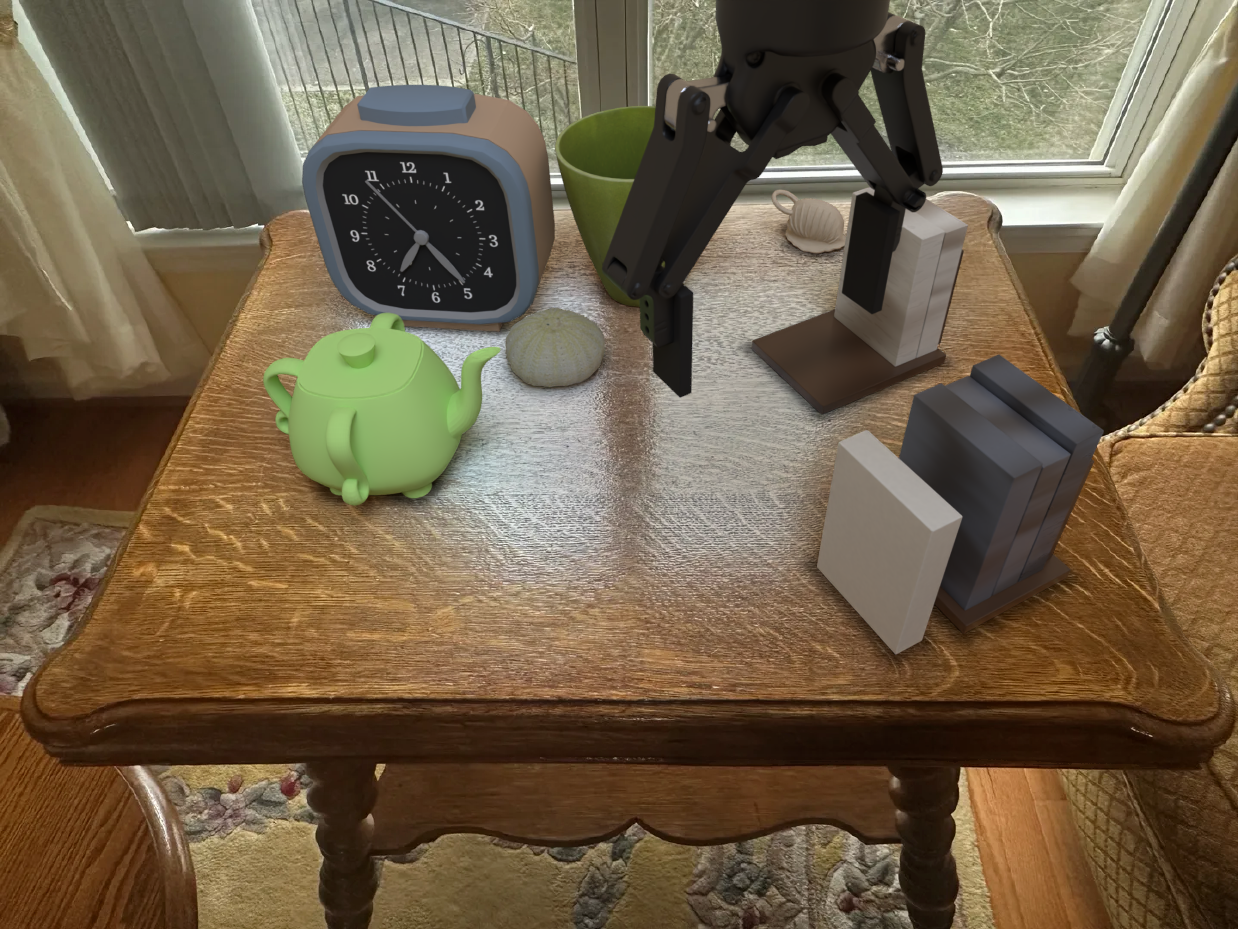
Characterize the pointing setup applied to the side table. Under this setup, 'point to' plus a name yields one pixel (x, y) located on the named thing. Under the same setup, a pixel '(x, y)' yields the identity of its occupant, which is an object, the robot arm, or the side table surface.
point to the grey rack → (999, 483)
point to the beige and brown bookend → (876, 319)
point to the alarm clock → (433, 205)
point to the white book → (885, 540)
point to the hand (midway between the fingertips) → (770, 340)
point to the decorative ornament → (812, 224)
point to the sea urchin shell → (555, 348)
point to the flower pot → (603, 176)
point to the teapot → (375, 410)
